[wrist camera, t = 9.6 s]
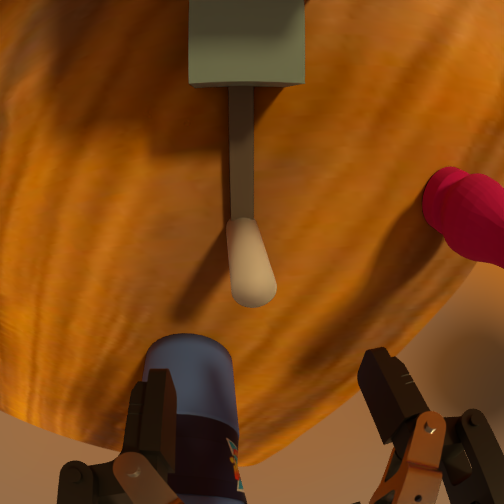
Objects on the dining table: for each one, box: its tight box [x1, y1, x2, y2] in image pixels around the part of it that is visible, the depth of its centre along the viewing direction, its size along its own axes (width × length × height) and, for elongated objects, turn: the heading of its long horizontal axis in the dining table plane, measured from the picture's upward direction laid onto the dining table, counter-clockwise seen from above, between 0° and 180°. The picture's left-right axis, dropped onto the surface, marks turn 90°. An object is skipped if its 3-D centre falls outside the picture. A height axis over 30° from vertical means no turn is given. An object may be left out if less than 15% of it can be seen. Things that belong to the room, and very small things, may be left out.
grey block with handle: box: [188, 0, 305, 308], centre depth 16 cm, size 18×6×8 cm, turn 0°
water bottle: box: [142, 333, 247, 504], centre depth 19 cm, size 9×9×25 cm
